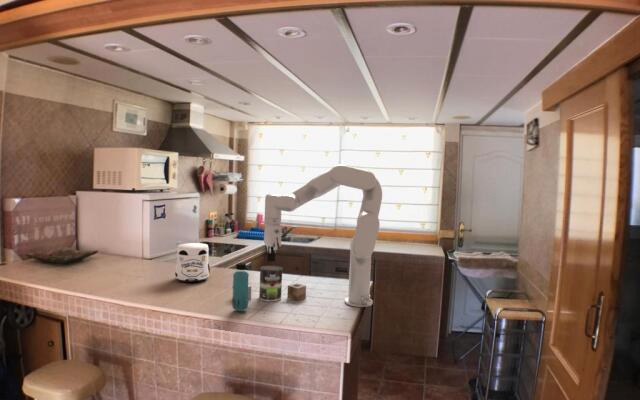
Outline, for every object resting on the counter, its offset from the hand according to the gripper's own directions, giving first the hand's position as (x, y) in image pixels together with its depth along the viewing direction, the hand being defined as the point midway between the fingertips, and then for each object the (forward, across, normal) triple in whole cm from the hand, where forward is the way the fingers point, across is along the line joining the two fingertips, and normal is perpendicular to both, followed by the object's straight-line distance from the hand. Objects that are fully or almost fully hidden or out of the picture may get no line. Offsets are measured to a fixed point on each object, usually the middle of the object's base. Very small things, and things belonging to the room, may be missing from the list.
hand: (271, 261), depth 177 cm
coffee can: (+17, 0, 0) cm, 17 cm away
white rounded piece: (+18, +43, +26) cm, 53 cm away
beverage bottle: (+18, -11, +18) cm, 27 cm away
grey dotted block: (+17, +5, +11) cm, 21 cm away
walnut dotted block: (+17, -5, -11) cm, 21 cm away
